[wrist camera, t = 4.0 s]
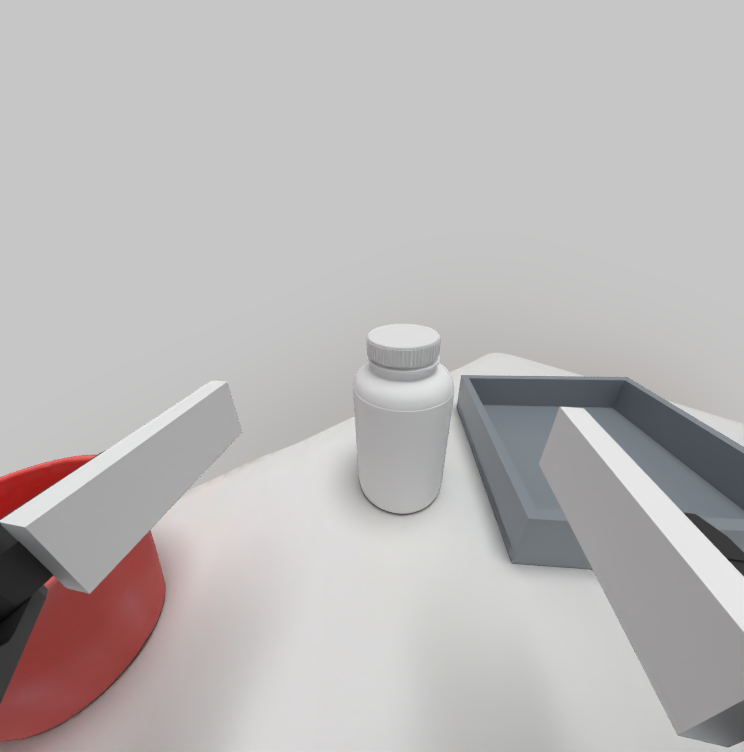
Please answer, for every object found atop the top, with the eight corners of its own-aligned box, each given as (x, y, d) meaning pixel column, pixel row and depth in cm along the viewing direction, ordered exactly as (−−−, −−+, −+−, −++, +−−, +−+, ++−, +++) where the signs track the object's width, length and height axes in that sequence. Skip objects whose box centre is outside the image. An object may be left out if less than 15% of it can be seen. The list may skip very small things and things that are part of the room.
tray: (611, 410, 35) (627, 377, 33) (831, 586, 17) (898, 540, 15) (456, 407, 37) (461, 375, 34) (511, 563, 19) (528, 518, 17)
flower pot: (-165, 847, 11) (-563, 816, 6) (65, 560, 20) (-26, 467, 16) (129, 763, 12) (-21, 690, 8) (213, 533, 22) (168, 441, 17)
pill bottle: (362, 523, 22) (350, 358, 15) (357, 454, 29) (347, 321, 22) (454, 512, 23) (482, 349, 16) (427, 448, 30) (439, 316, 23)
